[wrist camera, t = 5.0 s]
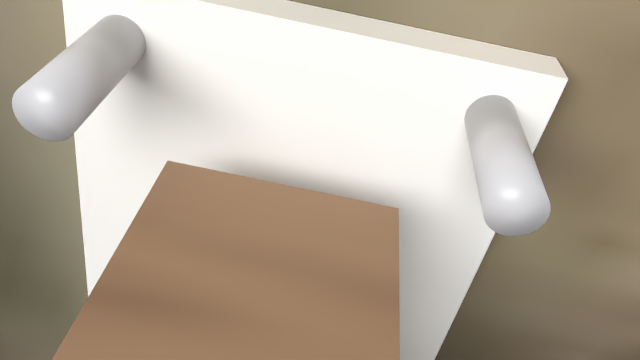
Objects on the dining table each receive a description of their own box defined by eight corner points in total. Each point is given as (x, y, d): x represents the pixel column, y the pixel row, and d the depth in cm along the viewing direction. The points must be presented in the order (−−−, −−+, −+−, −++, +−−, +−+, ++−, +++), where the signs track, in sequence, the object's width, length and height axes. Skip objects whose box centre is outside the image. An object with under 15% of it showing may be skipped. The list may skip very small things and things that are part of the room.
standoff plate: (401, 399, 19) (403, 532, 15) (107, 340, 18) (46, 462, 15) (556, 57, 12) (619, 168, 8) (83, -44, 11) (-40, 30, 8)
